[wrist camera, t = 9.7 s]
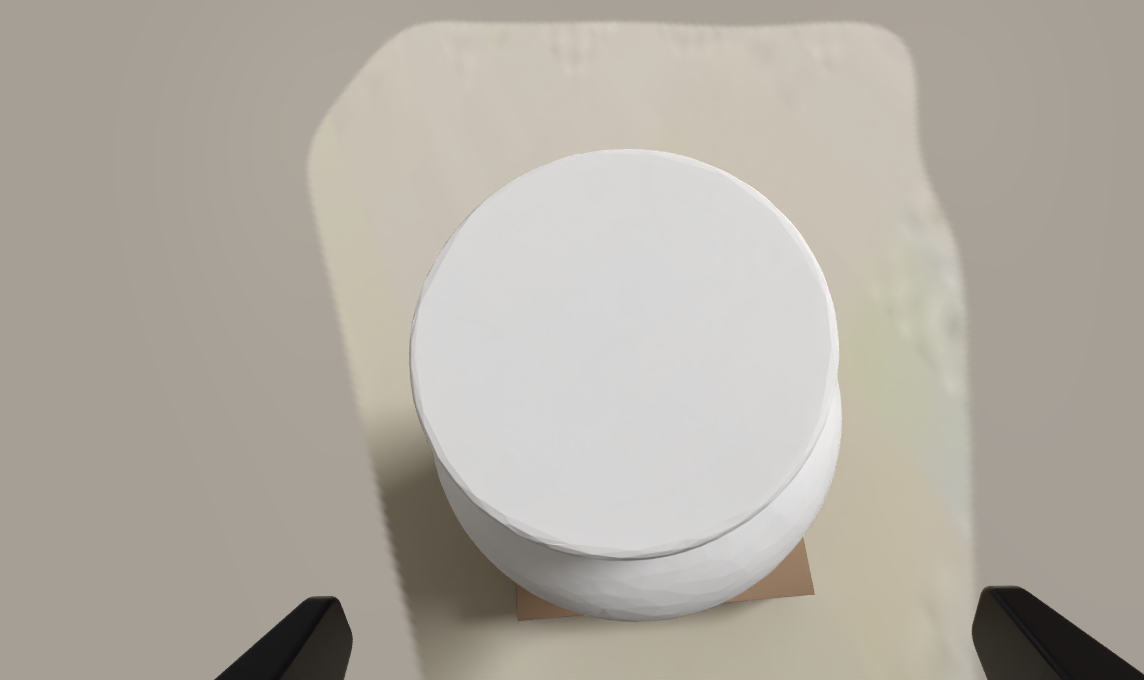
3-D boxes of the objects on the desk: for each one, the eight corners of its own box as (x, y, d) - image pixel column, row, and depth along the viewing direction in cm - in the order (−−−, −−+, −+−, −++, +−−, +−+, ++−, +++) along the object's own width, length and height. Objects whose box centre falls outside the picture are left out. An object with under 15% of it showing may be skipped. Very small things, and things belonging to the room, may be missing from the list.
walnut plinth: (795, 587, 19) (814, 594, 17) (533, 611, 20) (518, 620, 18) (746, 337, 22) (757, 313, 20) (517, 366, 23) (501, 346, 20)
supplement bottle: (488, 462, 19) (208, 333, 7) (635, 319, 20) (608, -14, 8) (642, 634, 17) (613, 857, 5) (799, 465, 18) (1094, 315, 6)
